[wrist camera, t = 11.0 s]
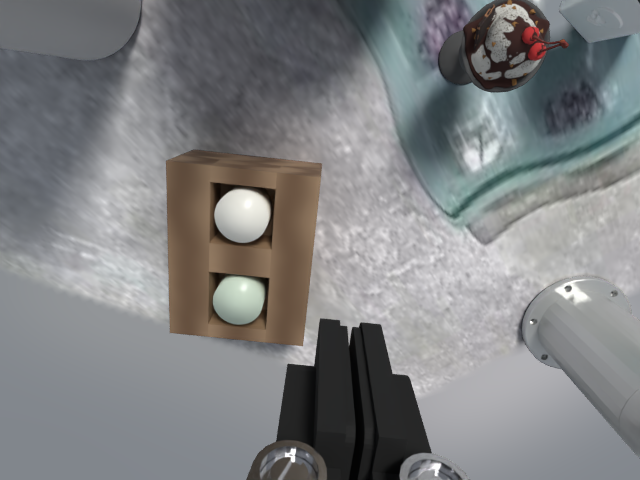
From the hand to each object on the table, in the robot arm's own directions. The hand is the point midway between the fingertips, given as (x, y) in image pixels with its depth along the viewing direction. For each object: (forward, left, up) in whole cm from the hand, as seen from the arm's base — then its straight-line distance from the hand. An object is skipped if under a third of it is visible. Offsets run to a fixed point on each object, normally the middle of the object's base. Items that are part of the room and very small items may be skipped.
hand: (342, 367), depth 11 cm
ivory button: (+8, +4, -31) cm, 32 cm away
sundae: (-12, -12, -35) cm, 39 cm away
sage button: (+8, +14, -31) cm, 35 cm away
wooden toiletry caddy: (+8, +9, -35) cm, 37 cm away
